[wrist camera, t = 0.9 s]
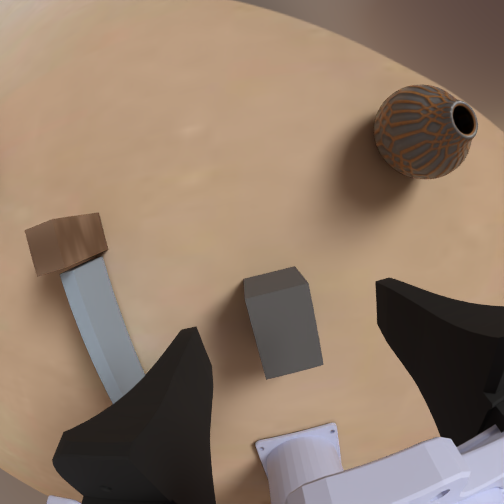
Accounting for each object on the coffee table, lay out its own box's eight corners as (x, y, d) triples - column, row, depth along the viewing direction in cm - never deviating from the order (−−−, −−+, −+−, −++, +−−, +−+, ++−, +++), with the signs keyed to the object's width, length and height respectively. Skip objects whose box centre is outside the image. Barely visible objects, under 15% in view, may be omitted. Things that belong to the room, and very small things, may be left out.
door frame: (173, 421, 26) (160, 472, 19) (151, 423, 26) (133, 473, 19) (98, 212, 23) (52, 219, 16) (74, 220, 23) (24, 230, 16)
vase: (358, 171, 23) (416, 161, 15) (364, 90, 22) (417, 49, 13) (430, 187, 24) (499, 188, 15) (433, 112, 22) (498, 89, 14)
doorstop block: (308, 335, 25) (323, 364, 20) (261, 347, 25) (266, 379, 20) (294, 266, 24) (308, 283, 19) (243, 278, 24) (244, 298, 19)
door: (158, 403, 26) (145, 438, 21) (137, 406, 26) (122, 439, 21) (102, 256, 23) (73, 270, 18) (80, 262, 23) (49, 277, 18)
